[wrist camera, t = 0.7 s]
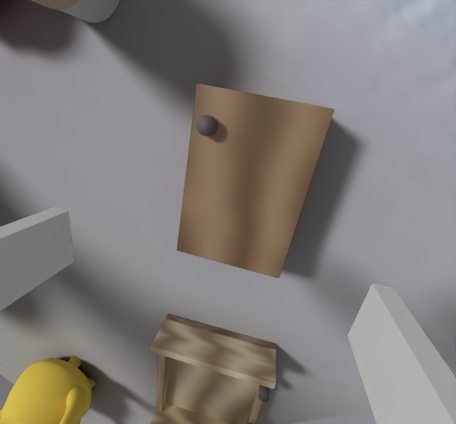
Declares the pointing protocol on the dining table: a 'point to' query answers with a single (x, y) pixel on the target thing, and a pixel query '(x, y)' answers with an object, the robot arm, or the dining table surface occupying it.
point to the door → (248, 176)
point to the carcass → (210, 374)
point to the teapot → (49, 394)
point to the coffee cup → (83, 8)
